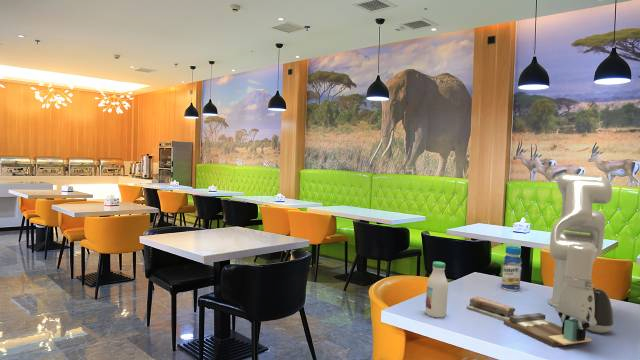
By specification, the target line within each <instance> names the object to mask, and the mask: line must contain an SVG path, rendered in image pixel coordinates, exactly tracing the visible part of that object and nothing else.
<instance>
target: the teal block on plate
mask: <svg viewBox="0 0 640 360" xmlns="http://www.w3.org/2000/svg"><path fill="white" fill-rule="evenodd" d="M578 328H579V323H578V319H576V318H570V320H565V324H564V335H563V334H562V335H555V336H548V338H549V339H552V340H554V341H556V342H558V343H561V344H563V346H567V344H569V345H575V344H574V343H576V344H581V342H583V343H587V342H592V341H593V338H589V336H588V337H587V336H586V337H585V340H584V341H577V340H576V337H577V329H578Z"/></svg>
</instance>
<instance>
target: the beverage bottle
mask: <svg viewBox="0 0 640 360" xmlns="http://www.w3.org/2000/svg"><path fill="white" fill-rule="evenodd" d="M505 254H506V255H505V256H504V257H503V260H502V261H503V263H502V266H501V267H502V273H501V284H500V285H501V286H500V287H501V288H502V289H503V290H505V291H511V292H519V291H520V289H521V276H522V274H521V273H522V268H523V267H522V264H523V262H522V258H521V254H522V248H521V247H520V246H515V245H507V246H506V247H505Z"/></svg>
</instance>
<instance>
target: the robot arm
mask: <svg viewBox="0 0 640 360" xmlns="http://www.w3.org/2000/svg"><path fill="white" fill-rule="evenodd" d="M612 187H613V186H612V183H611V181H610V179H609V178H608V177H607V176H605V175H591V174H577V173H563V174H560V175H559V176H558V177H557V188H558V191H559V192H560V195H561V198H562V203H561V211H560V212H561V214H560V218H559V219H558V221H556V223H555V224H554V225H553V226H552V228H551V233H550V239H549V255H550V257H551V258H552V259H553V260H555V262H554V273H553V274H554V275H553V287H552V298H549V299H548V300H547V301H548V302H547V303H548V305H550V306H553V307H554V311H556V313H557V314H558V316H559V318H560V323H561V324H562V325H561V327H562V334H563V335H564V324H565V320H570V319H572V318H573V319H577V320H578V323H579V328H578V329H577V337H576V340H577V341H584V340H585V337H587V335H586V334H587V330H588V328H589V327H590V326H592V325H595V324H597V321H596V320H595V318H594V313H595V301H594V293H593V288H595V287H594V286H595V284H594V283H593V282H592V278H593V277H592V273H593V264H594V262H595V261H597V259H598V257H600V255H602V252H603V245H604V239H605V238H604V237H605V231H606V217H605V214H604V213H603V212H602V211H599V210H595V209H593V204H601V205H607V204H609V203H610V202H611V201H612V198H613V189H612ZM587 319H589V322H587Z"/></svg>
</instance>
